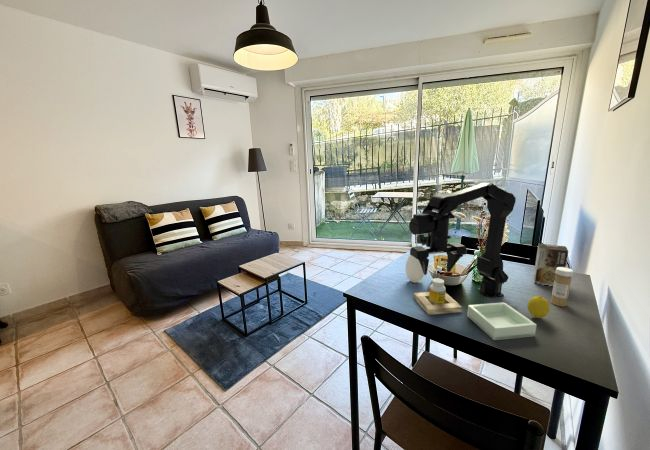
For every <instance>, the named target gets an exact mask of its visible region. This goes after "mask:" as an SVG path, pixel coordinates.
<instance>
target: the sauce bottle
mask: <svg viewBox="0 0 650 450" xmlns="http://www.w3.org/2000/svg"><path fill="white" fill-rule="evenodd" d="M415 243H416V244H415V247H418V243H417V242H415ZM404 268H405V274H406V278H407V279H408V280H409V281H410V282H411V283H413V284H417V283H420V281H422V280H423V279H424V276H425V275H424V273H423V270H422V267H421V264H420V262H419V260H418V259H416V258H415V257H413V256H412V255H410V253H409V255H408V256H407V259H406V262H405V267H404Z"/></svg>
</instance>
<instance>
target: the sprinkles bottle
mask: <svg viewBox="0 0 650 450" xmlns="http://www.w3.org/2000/svg"><path fill="white" fill-rule="evenodd" d="M573 274H574V270H573V269H571V268H569V267H557V268H556V276H555V280H554V286H553V287H552V290H551V292H552V293H551V299H550V303H551V304H552V305H554V306H557V307H566V306H567V305H568V304H567V302H568V298H569V293H570V286H571V281H572V277H573V276H574V275H573Z"/></svg>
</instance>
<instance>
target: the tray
mask: <svg viewBox="0 0 650 450" xmlns="http://www.w3.org/2000/svg"><path fill="white" fill-rule="evenodd" d="M466 316H467V317H468V318H469V319H470V321H472V323H474V324H475V325H477V327H479V329H480V330H482V331H483V332H484V333H485V334H486V335H487V336H488V337H490V339H492V340H493V341H500V340H501V341H502V340H511V339H512V340H513V339H521V338H522V339H523V338H531V337H535V335H536V332H537V326H538V325H537V323H535V322H533V320H531V319H529V318H528V317H526V316H525V315H523V314H522V313H521V312H519V311H517V310H516V308H513V307H512V306H511V305H509V304H508V303H506V302H491V303H479V304H477V303H476V304H468V306H467V314H466Z"/></svg>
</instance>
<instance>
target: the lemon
mask: <svg viewBox="0 0 650 450" xmlns="http://www.w3.org/2000/svg"><path fill="white" fill-rule="evenodd" d="M527 310H528V312H529V314H530V315H532V316H533V317H534V318H535V319H539V318H540V319H541V318H542V319H543V318H545V317H547V315H548V314H549V312H550V304H549V302H548V300H547V299H546V298H545V297H542V296H541V295H535V296H533V297H531V298H530V299H529V301H528V304H527Z"/></svg>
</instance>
